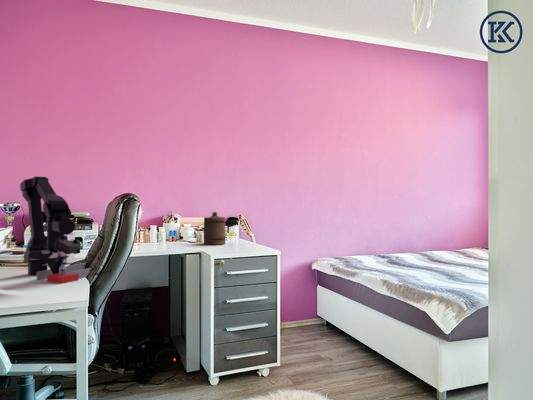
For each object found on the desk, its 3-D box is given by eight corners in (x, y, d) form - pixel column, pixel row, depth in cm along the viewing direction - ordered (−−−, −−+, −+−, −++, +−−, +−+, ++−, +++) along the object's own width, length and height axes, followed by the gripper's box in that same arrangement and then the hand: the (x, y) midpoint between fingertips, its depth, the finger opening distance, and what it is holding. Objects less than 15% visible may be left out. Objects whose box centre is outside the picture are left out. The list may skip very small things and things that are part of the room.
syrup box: (75, 261, 197) (75, 231, 197) (66, 263, 191) (66, 232, 191) (65, 261, 199) (65, 231, 199) (56, 263, 193) (56, 232, 193)
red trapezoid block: (78, 281, 149) (78, 264, 149) (61, 284, 143) (61, 266, 143) (64, 279, 153) (64, 262, 153) (47, 282, 147) (47, 265, 147)
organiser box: (36, 279, 150) (36, 271, 150) (86, 269, 174) (86, 262, 174) (64, 282, 146) (64, 273, 146) (111, 270, 170) (111, 263, 170)
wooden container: (229, 243, 285) (229, 211, 285) (218, 245, 272) (217, 212, 272) (211, 242, 291) (211, 211, 291) (199, 244, 278) (199, 212, 278)
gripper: (52, 235, 139) (52, 281, 139) (91, 231, 157) (91, 272, 157) (27, 235, 143) (27, 279, 142) (68, 231, 160) (68, 271, 160)
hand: (55, 275), depth 150 cm, fingers closed
